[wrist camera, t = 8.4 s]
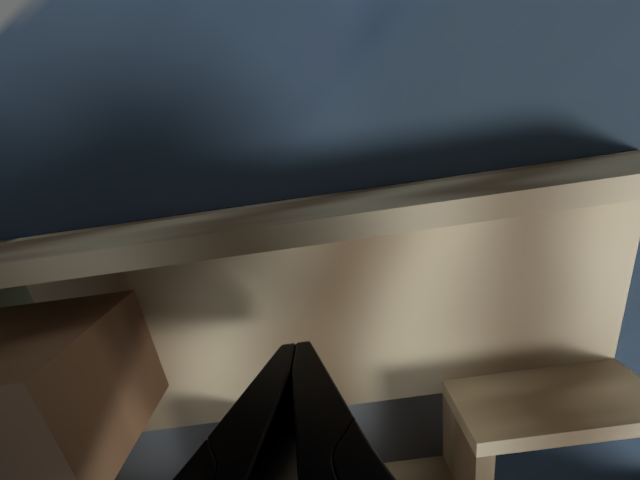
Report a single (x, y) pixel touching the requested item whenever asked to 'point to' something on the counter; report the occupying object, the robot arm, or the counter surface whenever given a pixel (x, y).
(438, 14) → the counter surface
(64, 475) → the walnut block
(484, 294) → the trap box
